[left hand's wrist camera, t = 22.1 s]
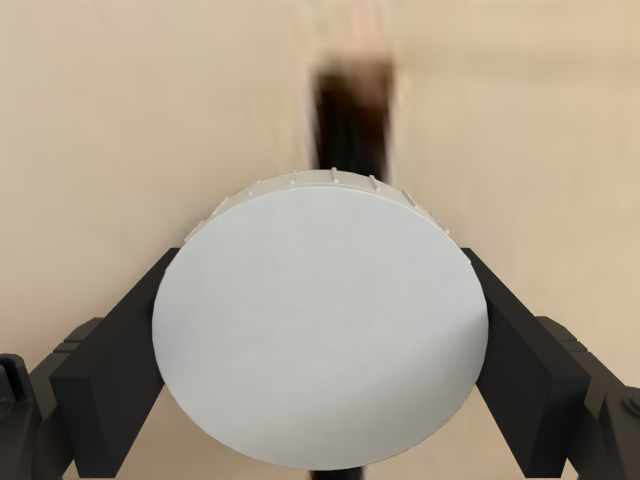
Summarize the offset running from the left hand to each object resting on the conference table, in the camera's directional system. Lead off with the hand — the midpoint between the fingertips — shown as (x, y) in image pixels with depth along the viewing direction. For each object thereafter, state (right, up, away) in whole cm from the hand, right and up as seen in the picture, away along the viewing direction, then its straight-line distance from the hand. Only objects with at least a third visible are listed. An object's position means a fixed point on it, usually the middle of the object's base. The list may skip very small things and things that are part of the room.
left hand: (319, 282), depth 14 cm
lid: (0, -1, -3) cm, 3 cm away
